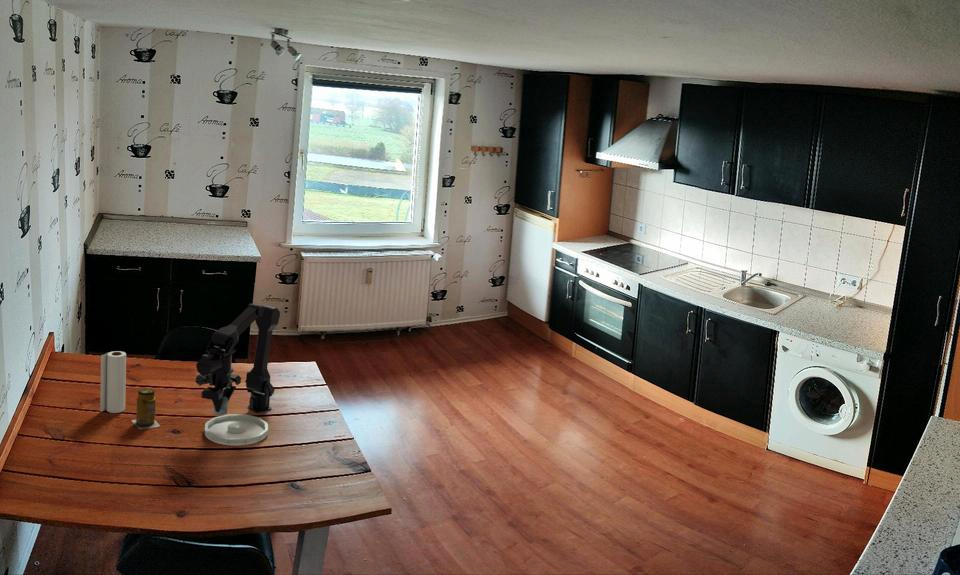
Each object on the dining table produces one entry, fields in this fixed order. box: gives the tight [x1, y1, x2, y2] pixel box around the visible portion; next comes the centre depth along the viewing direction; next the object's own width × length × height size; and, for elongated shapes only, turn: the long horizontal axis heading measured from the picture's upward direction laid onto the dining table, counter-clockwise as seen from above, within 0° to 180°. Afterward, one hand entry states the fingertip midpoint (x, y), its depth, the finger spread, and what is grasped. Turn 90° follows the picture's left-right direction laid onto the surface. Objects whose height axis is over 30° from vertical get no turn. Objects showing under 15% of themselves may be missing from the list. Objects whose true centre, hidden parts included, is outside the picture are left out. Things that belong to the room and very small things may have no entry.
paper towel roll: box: [99, 350, 127, 414], centre depth 293 cm, size 7×6×21 cm
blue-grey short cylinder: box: [213, 397, 229, 416], centre depth 288 cm, size 4×4×5 cm
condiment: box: [131, 387, 161, 430], centre depth 287 cm, size 7×8×12 cm
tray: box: [204, 413, 269, 447], centre depth 290 cm, size 21×21×2 cm
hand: (220, 409), depth 289 cm, fingers closed on blue-grey short cylinder, 4 cm apart
